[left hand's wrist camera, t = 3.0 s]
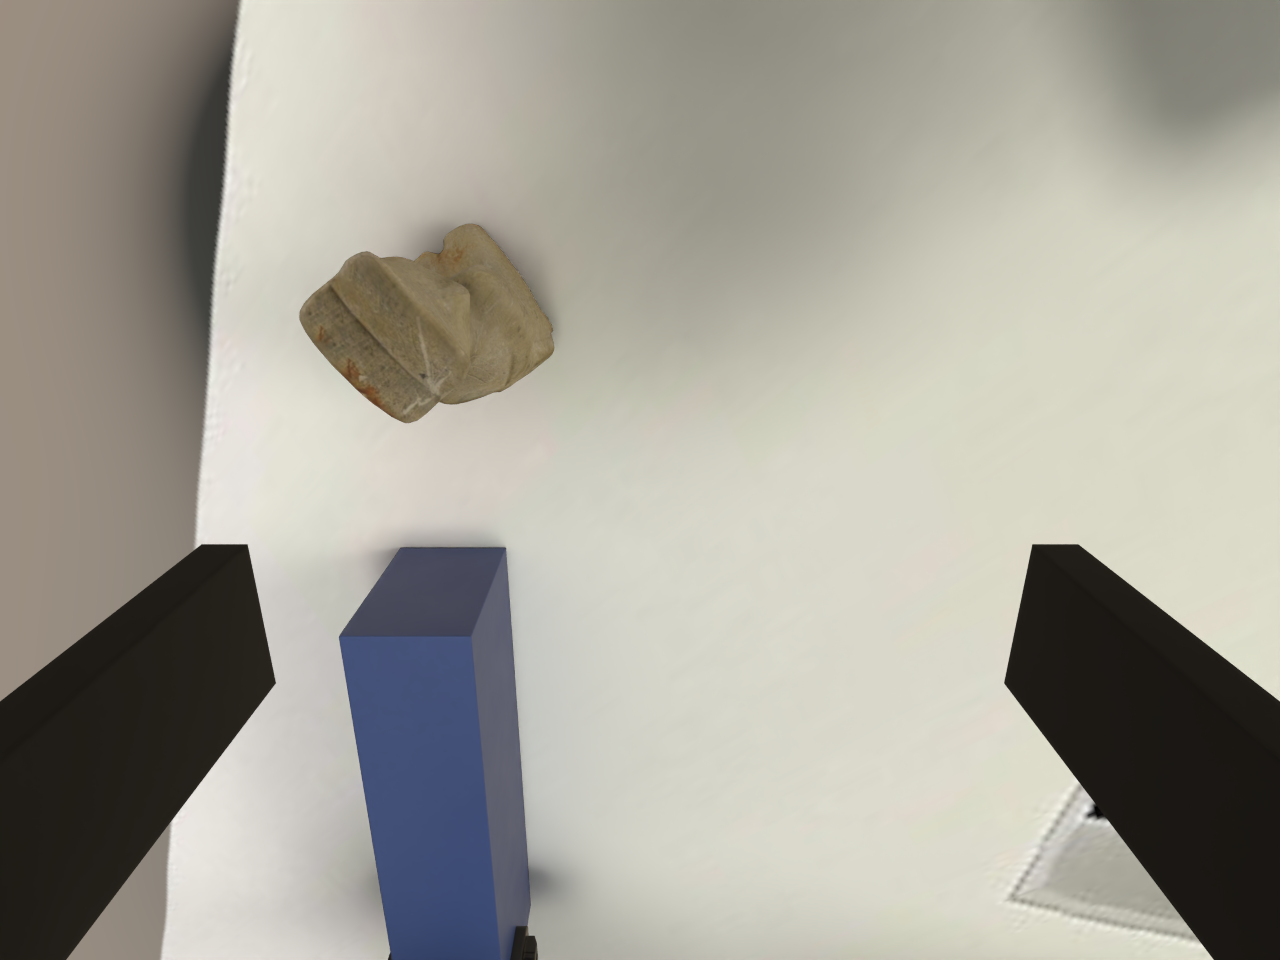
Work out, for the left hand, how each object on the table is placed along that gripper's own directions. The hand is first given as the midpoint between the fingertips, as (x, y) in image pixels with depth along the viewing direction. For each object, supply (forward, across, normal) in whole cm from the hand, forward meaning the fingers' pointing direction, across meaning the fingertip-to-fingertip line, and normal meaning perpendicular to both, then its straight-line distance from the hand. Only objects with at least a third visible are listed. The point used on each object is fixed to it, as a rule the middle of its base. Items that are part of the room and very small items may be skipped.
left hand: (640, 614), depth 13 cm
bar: (+27, -10, -25) cm, 38 cm away
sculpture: (+27, -7, +2) cm, 28 cm away
